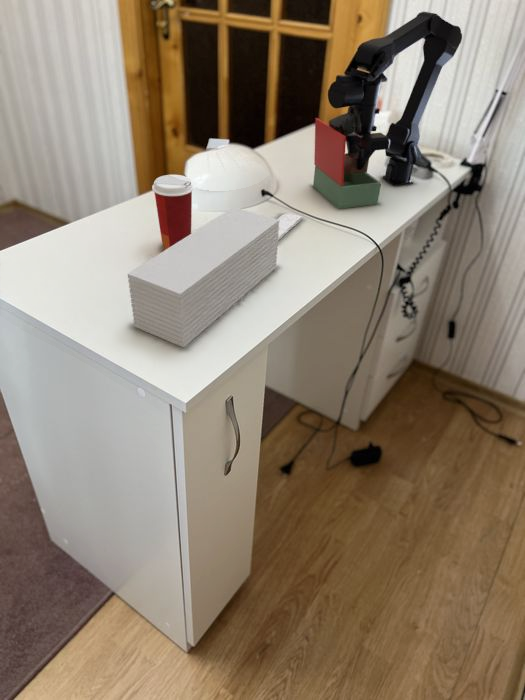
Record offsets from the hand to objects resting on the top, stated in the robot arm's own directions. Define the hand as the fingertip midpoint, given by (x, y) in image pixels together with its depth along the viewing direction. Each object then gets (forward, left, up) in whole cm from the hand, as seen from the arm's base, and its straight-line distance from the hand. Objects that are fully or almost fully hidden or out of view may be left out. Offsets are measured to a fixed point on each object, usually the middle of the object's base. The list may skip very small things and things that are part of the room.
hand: (355, 166), depth 138 cm
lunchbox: (+2, 0, -8) cm, 8 cm away
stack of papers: (+50, +36, -8) cm, 62 cm away
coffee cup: (+52, +16, -8) cm, 55 cm away
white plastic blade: (+27, +14, -8) cm, 31 cm away
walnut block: (0, 0, -1) cm, 1 cm away
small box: (+32, -17, -8) cm, 37 cm away
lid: (+8, 0, +5) cm, 9 cm away
